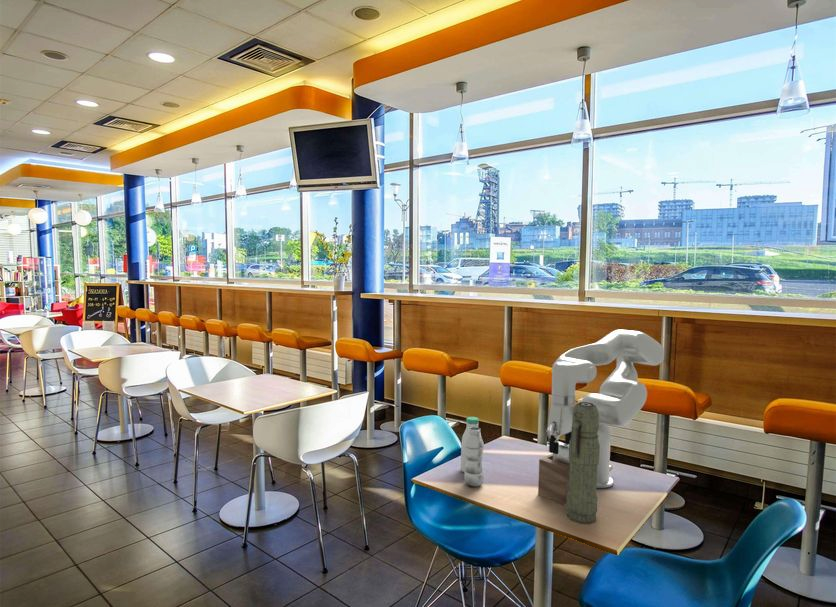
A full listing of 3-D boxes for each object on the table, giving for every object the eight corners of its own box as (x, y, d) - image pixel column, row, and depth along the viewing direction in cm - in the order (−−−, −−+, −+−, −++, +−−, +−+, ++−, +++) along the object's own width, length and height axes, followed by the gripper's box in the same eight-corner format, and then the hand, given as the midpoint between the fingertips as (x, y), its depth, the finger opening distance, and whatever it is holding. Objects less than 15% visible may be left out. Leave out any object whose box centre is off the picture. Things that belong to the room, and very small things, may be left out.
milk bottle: (476, 476, 185) (478, 422, 184) (457, 472, 189) (458, 419, 187) (484, 469, 192) (486, 417, 190) (465, 465, 195) (467, 414, 194)
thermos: (558, 518, 154) (563, 404, 152) (576, 505, 163) (580, 398, 161) (586, 528, 148) (591, 410, 146) (603, 515, 157) (608, 403, 155)
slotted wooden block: (554, 486, 178) (555, 452, 177) (580, 495, 171) (582, 460, 170) (538, 494, 171) (539, 459, 170) (564, 504, 164) (566, 468, 163)
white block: (556, 470, 173) (557, 441, 172) (572, 475, 169) (573, 445, 168) (552, 472, 171) (553, 442, 171) (568, 477, 167) (569, 447, 166)
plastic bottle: (482, 489, 174) (484, 432, 172) (462, 487, 175) (464, 430, 174) (483, 482, 180) (485, 426, 179) (464, 480, 181) (466, 425, 180)
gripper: (567, 392, 177) (565, 440, 179) (538, 401, 166) (537, 452, 167) (586, 396, 172) (585, 446, 173) (559, 406, 160) (557, 459, 161)
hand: (561, 449), depth 170 cm, fingers open, 9 cm apart
